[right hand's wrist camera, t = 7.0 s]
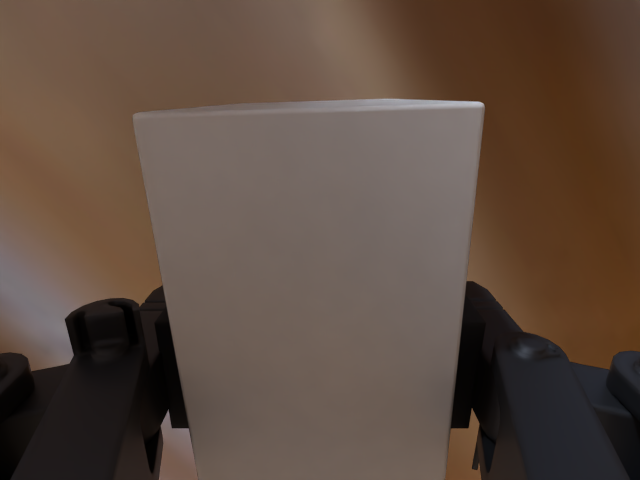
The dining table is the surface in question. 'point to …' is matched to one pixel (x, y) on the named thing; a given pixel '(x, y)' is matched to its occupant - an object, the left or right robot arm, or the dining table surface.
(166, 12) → the dining table surface
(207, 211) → the bar
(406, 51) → the dining table surface
